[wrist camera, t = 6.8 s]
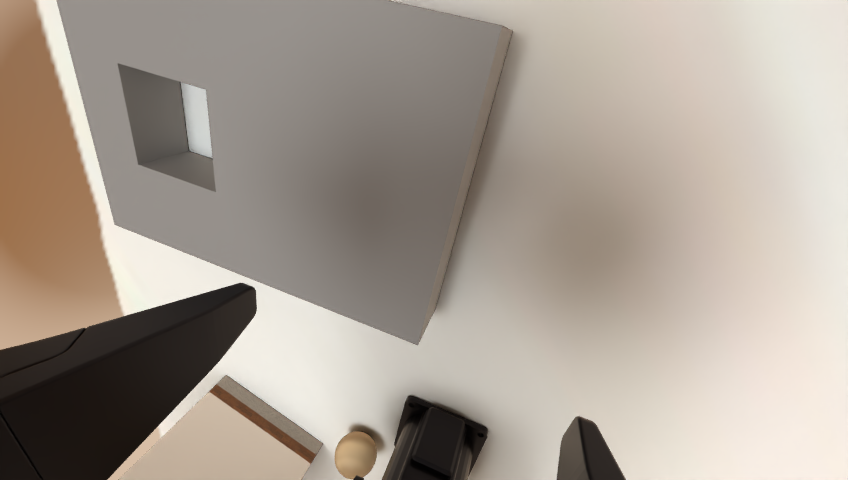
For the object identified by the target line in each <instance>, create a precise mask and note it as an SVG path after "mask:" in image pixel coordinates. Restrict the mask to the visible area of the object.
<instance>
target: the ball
mask: <svg viewBox="0 0 848 480" xmlns="http://www.w3.org/2000/svg"><path fill="white" fill-rule="evenodd" d="M376 457H377V450H376V445H375V443H374V441H373V439H372V438H371V437H370V436H369V435H368V434H366V433H364V432H359V431H356V432H351V433H349V434H347V435H346V436H344V437H343V438H342V439H341V440H340V442H339V443H338V445H337V448H336V451H335V464H336V467H337V469H338V471H339V472H340V474H341V475H343V476H344V477H346V478H348V479H354V478H355V476H356V475H358V476H360V477H364V476H365V475H367V474H368V473H369V472H370V471H371V470H372V468H373V466H374V464H375V461H376Z"/></svg>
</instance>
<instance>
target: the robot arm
mask: <svg viewBox="0 0 848 480" xmlns="http://www.w3.org/2000/svg"><path fill="white" fill-rule="evenodd" d="M256 310H257V304H256V290H255V288H254V287H252V286H249V285H247V284H244V283H238V284H234V285H231V286H228V287H224V288H221V289H217V290H214V291H210V292H207V293H203V294H200V295H196V296H193V297H189V298H186V299H182V300H179V301H176V302H172V303H169V304H165V305H162V306H158V307H155V308H151V309H148V310H144V311H141V312H137V313H134V314H130V315H127V316H123V317H120V318H117V319H113V320H110V321H106V322H103V323H99V324H96V325H92V326H89V327H87V328H82V329H78V330H75V331H71V332H68V333H65V334H61V335H57V336H53V337H50V338H46V339H42V340H39V341H35V342H31V343H27V344H23V345H19V346H14V347H10V348H6V349H3V350H0V480H107V479H108V478H109V477H110V476H111V475H112V474H113V473H114V472H115V471H116V470H117V468H119V467H120V466H121V464H122V463H123V462H124V461H125V460H126V459H127V458H128V457H129V456H130V455H131V454H132V453H133V452H134V451H135V450H136V449H137V448H138V446H139V445H140V444H141V443H142V442H143V441H144V440H145V439H146V438H147V437H148V436H149V435H150V434H151V433H152V432H153V431H154V429H156V428H157V427H158V426H159V424H160V423H161V422H162V421H163V420H164V419H165V418H166V417H167V416H168V415H169V414H170V413H171V412H172V411H173V410H174V409H175V408H176V407H177V405H178V404H179V403H180V402H181V401H182V400H183V399H184V398H185V397H186V396H187V395H188V394H189V393H190V392H191V391H192V390H193V389H194V388H195V386H196V385H197V384H198V383H199V382H200V381H201V380H202V379H203V378H204V377H205V376H206V375H207V374H208V373H209V372H210V371H211V370H212V369H213V367H214V366H215V365H216V364H217V363H218V362H219V361H220V360H221V358H222V357H223V356H224V355H225V354H226V352H227V351H228V350H229V348H230V347H231V346H232V345H233V343H234V342H235V341H236V339H237V338H238V337H239V336H240V334H241V333H242V332H243V330H244V329H245V328H246V327H247V325H248V324H249V323H250V321H251V320H252V319H253V317H254V316H255V314H256ZM487 435H488V430H487V428H486V427H484V426H482V425H479V424H477V423H475V422H472V421H470V420H468V419H465V418H463V417H461V416H458V415H456V414H453V413H451V412H449V411H446V410H444V409H442V408H439V407H437V406H435V405H432V404H430V403H428V402H425V401H423V400H421V399H418V398H416V397H413V396H409V397H408V398H407V400H406V402H405V405H404V409H403V413H402V416H401V420H400V424H399V427H398V431H397V435H396V439H395V442H394V445H395V449H394V451H393V454H392V456H391V459H390V461H389V464H388V466H387V468H386V471H385V473H384V476H383V478H382V480H467V479H468V476H469V474H470V472H471V470H472V468H473V466H474V464H475V462H476V460H477V457H478V455H479V453H480V451H481V449H482V447H483V445H484V443H485V441H486V439H487ZM354 480H364V478H362V477H360V476H358V475H356V476H355V478H354ZM557 480H626V479H625V477H624V475H623V473H622V472H621V470H620V468H619V466H618V464H617V462H616V460H615V459H614V457H613V455H612V453H611V451H610V449H609V447H608V446H607V444H606V442H605V440H604V438H603V436H602V434H601V433H600V431H599V429H598V427H597V425H596V424H595V423H594V422H592V421H590V420H588V419H585V418H583V417H580V416H577V417H575V418H574V420H573V421H572V423H571V424H570V426H569V428H568V429H567V431H566V432H565V434H564V435H563V438H562V441H561V447H560V456H559V464H558V473H557Z"/></svg>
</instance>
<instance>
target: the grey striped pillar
mask: <svg viewBox="0 0 848 480" xmlns="http://www.w3.org/2000/svg"><path fill="white" fill-rule="evenodd" d="M322 445H323V443H321V442H320V441H319V440H317V439H316V438H314V437H313V436H312V435H310V434H309V433H307V432H306V431H304V430H303V429H302V428H300V427H299V426H297V425H296V424H295V423H293V422H292V421H290V420H289V419H287V418H286V417H285V416H283V415H282V414H280V413H279V412H278V411H276V410H275V409H273V408H272V407H271V406H269V405H268V404H266V403H265V402H263V401H262V400H261V399H259V398H258V397H256V396H255V395H254V394H252V393H251V392H249V391H248V390H246V389H245V388H244V387H242V386H241V385H239V384H238V383H237V382H235V381H234V380H232V379H231V378H230V377H228V376H227V375H226V376H225V377H224V378H223V379H221V380H220V381H219V382H218V383H217V384H216V385H215V386H214V387H213V388H212V389H211V390H210V391H209V392H208V393H207V394H206V395H205V396H204V397H203V398H202V399H201V400H200V401H199V402H198V403H197V404H196V405H195V406H194V407H193V408H192V409H191V410H190V411H189V412H187V413H186V414H185V415H184V416H183V417H182V418H181V419H180V420H179V421H178V422H177V423H176V424H175V425H174V426H173V427H172V428H171V429H170V430H169V431H168V432H167V433H166V434H165V435H164V436H163V437H162V438H161V439H160V440H159V441H158V442H157V443H156V444H155V445H153V446H152V447H151V449H149V450H148V451H147V452H146V453H145V454H144V455H143V456H142V457H141V458H140V459H139V460H138V461H137V462H136V463H135V464H134V465H133V466H132V467H131V468H130V469H129V470H128V471H127V472H126V473H125V474H124V475H123V476H122V477H121V478H120V479H118V480H302V478H303V476H304V475H305V473H306V471H307V470H308V468H309V466H310V465H311V463H312V461H313V460H314V458H315V456H316V455H317V453H318V451H319V450H320V448H321V446H322Z"/></svg>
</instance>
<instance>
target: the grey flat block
mask: <svg viewBox="0 0 848 480" xmlns="http://www.w3.org/2000/svg"><path fill="white" fill-rule="evenodd" d="M57 4H58V8H59V11H60V15H61V19H62V23H63V27H64V31H65V35H66V38H67V42H68V46H69V50H70V54H71V58H72V62H73V65H74V69H75V73H76V77H77V81H78V85H79V88H80V92H81V96H82V100H83V104H84V108H85V112H86V115H87V119H88V123H89V127H90V131H91V135H92V139H93V142H94V146H95V150H96V154H97V158H98V162H99V166H100V169H101V173H102V177H103V181H104V185H105V189H106V193H107V196H108V200H109V204H110V208H111V212H112V216H113V220H114V223H115V225H117V226H119V227H122V228H124V229H127V230H129V231H132V232H134V233H137V234H139V235H142V236H144V237H147V238H149V239H152V240H155V241H157V242H160V243H162V244H165V245H167V246H170V247H172V248H175V249H177V250H180V251H182V252H185V253H187V254H190V255H192V256H195V257H197V258H200V259H202V260H205V261H207V262H210V263H212V264H215V265H217V266H220V267H222V268H225V269H227V270H230V271H232V272H235V273H237V274H240V275H243V276H245V277H248V278H250V279H253V280H255V281H258V282H260V283H263V284H265V285H268V286H270V287H273V288H275V289H278V290H280V291H283V292H285V293H288V294H290V295H293V296H295V297H298V298H300V299H303V300H305V301H308V302H310V303H313V304H315V305H318V306H320V307H323V308H325V309H328V310H331V311H333V312H336V313H338V314H341V315H343V316H346V317H348V318H351V319H353V320H356V321H358V322H361V323H363V324H366V325H368V326H371V327H373V328H376V329H378V330H381V331H383V332H386V333H388V334H391V335H393V336H396V337H398V338H401V339H403V340H406V341H408V342H411V343H413V344H416V345H418V344H419V342H420V340H421V338H422V336H423V334H424V332H425V330H426V327H427V325H428V323H429V321H430V319H431V317H432V315H433V313H434V311H435V308H436V305H437V301H438V298H439V294H440V291H441V287H442V283H443V280H444V276H445V273H446V269H447V265H448V262H449V258H450V255H451V251H452V247H453V244H454V240H455V237H456V233H457V229H458V226H459V222H460V219H461V215H462V211H463V208H464V204H465V201H466V197H467V193H468V190H469V186H470V183H471V179H472V175H473V172H474V168H475V165H476V161H477V158H478V154H479V150H480V147H481V143H482V140H483V136H484V132H485V129H486V125H487V122H488V118H489V114H490V111H491V107H492V104H493V100H494V96H495V93H496V89H497V86H498V82H499V78H500V75H501V71H502V68H503V64H504V60H505V57H506V53H507V50H508V46H509V42H510V39H511V35H512V32H513V31H512V30H510V29H508V28H506V27H504V26H501V25H497V24H492V23H488V22H483V21H479V20H474V19H470V18H465V17H461V16H456V15H452V14H447V13H443V12H438V11H434V10H429V9H425V8H420V7H416V6H411V5H407V4H402V3H398V2H393V1H389V0H57ZM180 82H183V83H186V84H189V85H193V86H196V87H199V88H203V89H206V95H207V105H208V115H209V126H210V136H211V146H212V157H213V159H211V158H208V157H205V156H202V155H199V154H196V153H193V152H190V151H189V150H188V142H187V134H186V126H185V119H184V111H183V103H182V95H181V88H180Z"/></svg>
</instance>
